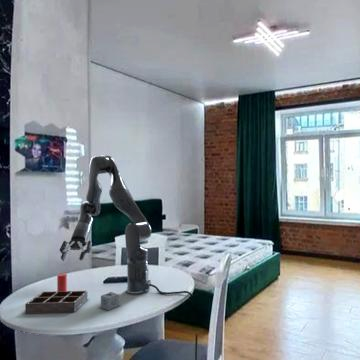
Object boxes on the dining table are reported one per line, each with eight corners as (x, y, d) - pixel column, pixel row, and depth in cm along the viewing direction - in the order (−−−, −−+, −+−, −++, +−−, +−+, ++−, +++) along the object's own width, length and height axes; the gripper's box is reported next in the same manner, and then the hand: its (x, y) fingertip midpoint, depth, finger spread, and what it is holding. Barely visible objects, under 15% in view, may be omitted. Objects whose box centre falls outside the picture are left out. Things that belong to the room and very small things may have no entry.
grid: (87, 299, 138) (87, 290, 138) (74, 312, 125) (74, 302, 125) (43, 300, 136) (43, 291, 136) (25, 313, 124) (25, 303, 124)
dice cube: (111, 303, 134) (111, 291, 134) (118, 305, 131) (118, 294, 131) (100, 307, 130) (100, 295, 130) (108, 310, 127) (108, 298, 127)
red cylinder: (68, 292, 146) (68, 273, 146) (64, 295, 143) (64, 275, 142) (59, 292, 146) (59, 273, 146) (55, 295, 142) (55, 276, 142)
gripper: (65, 228, 162) (53, 256, 150) (93, 228, 163) (84, 255, 152) (70, 236, 167) (59, 263, 156) (97, 236, 168) (88, 263, 157)
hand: (71, 259), depth 154 cm, fingers open, 8 cm apart
